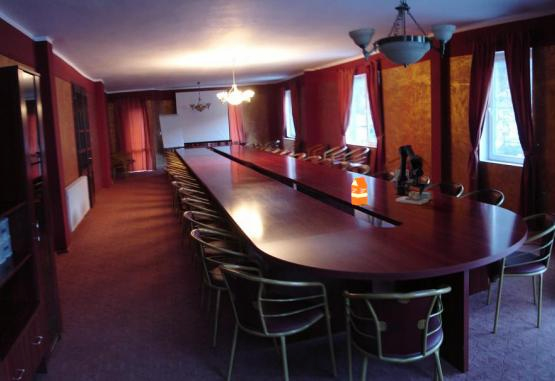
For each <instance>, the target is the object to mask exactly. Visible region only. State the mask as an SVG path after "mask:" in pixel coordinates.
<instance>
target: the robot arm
mask: <svg viewBox="0 0 555 381" xmlns="http://www.w3.org/2000/svg"><path fill="white" fill-rule="evenodd" d="M398 154H399V156H400V165H399V166H400V167H399V170H400V175H399V176H398V178H397V181H396V184H395V183H394V186H395V185H396V187H397V189H396V193H395V195H396V196H405V195H407V196H409V193H410V192H411V187H414V186H416V187H417V186H418V188H419V192H420V196H421V195H422V193H423V192H425V189H426V188H428V187H429V183H428V182H421V183H420V178H421V177H423V176H424V170H423V169H422V168H423V163H422V160H421V159H420V157H419V156H418V155H416V153H415V151H414V149H413V146H412V145H411V144H405V145H400V146H399V147H398ZM408 158H409V160H408ZM407 161H408V162H407ZM407 163H409V167H410V168H409V169H410V175H409V180H408V178H407V176H406V170H407V165H408V164H407ZM398 185H399V186H398Z"/></svg>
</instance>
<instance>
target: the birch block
mask: <svg viewBox="0 0 555 381" xmlns="http://www.w3.org/2000/svg"><path fill="white" fill-rule="evenodd" d="M408 197H409V199H420V191H410V193H409V195H408Z"/></svg>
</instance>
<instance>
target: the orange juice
mask: <svg viewBox="0 0 555 381" xmlns="http://www.w3.org/2000/svg"><path fill="white" fill-rule="evenodd" d="M367 183H368V182H367V181H366V179H365V177H364V176H360V177H354V178H353V181H352V184H350V185H351V204H352V205H353V206H354V205H355V206H357V205H359V206H362V205H361V204H365V205H368V184H367Z"/></svg>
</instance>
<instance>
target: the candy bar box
mask: <svg viewBox="0 0 555 381" xmlns="http://www.w3.org/2000/svg"><path fill="white" fill-rule="evenodd" d="M399 175H400V169H394V177H393V178H394V189H395V190H397V187H396V185H395V184H396V181H397V178H398V176H399ZM406 176H407V178H408V180H409V179H410V175H409V169H406ZM398 186H399V185H398Z"/></svg>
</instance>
